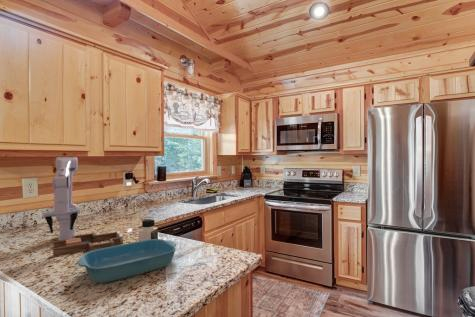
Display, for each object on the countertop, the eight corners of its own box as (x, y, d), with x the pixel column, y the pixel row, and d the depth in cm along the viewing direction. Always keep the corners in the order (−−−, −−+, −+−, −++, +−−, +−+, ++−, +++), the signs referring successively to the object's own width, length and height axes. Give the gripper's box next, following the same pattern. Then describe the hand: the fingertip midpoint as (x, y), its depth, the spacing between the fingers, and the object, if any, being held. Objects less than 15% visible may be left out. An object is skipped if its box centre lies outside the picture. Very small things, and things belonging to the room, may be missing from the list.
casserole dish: (164, 249, 123) (164, 234, 123) (186, 264, 106) (185, 247, 106) (73, 271, 100) (73, 253, 100) (82, 295, 83) (82, 273, 83)
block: (66, 248, 126) (66, 239, 126) (80, 245, 129) (80, 237, 129) (66, 251, 121) (66, 243, 121) (81, 249, 124) (81, 240, 124)
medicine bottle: (151, 245, 128) (150, 221, 128) (138, 244, 130) (138, 220, 130) (158, 241, 135) (158, 218, 135) (145, 240, 137) (145, 217, 137)
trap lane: (53, 244, 130) (53, 238, 130) (116, 234, 146) (116, 228, 146) (52, 259, 111) (52, 251, 111) (125, 245, 128) (125, 238, 128)
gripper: (43, 204, 113) (43, 236, 113) (81, 201, 122) (81, 229, 122) (41, 203, 118) (41, 232, 118) (78, 199, 128) (78, 227, 128)
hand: (61, 231), depth 121 cm, fingers open, 7 cm apart
